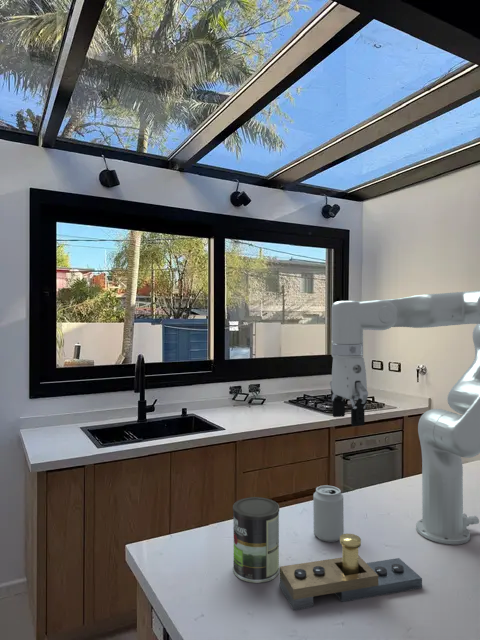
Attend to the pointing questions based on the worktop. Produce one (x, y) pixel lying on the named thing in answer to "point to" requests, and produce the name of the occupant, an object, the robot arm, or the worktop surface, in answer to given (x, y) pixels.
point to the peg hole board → (345, 580)
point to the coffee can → (256, 539)
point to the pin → (350, 553)
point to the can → (328, 513)
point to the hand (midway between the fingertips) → (347, 420)
